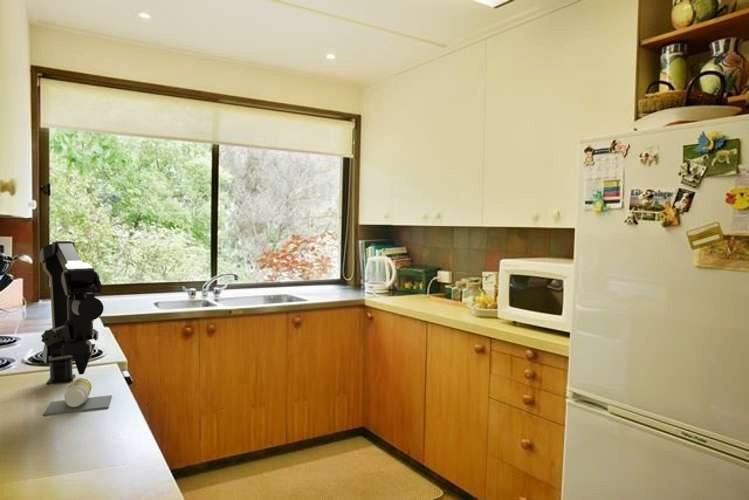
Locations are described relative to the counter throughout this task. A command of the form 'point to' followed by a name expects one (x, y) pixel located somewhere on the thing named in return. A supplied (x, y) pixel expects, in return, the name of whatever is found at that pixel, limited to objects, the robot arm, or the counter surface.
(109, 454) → the counter surface
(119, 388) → the counter surface
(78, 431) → the counter surface
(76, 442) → the counter surface
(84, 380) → the supplement bottle
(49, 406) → the mat
